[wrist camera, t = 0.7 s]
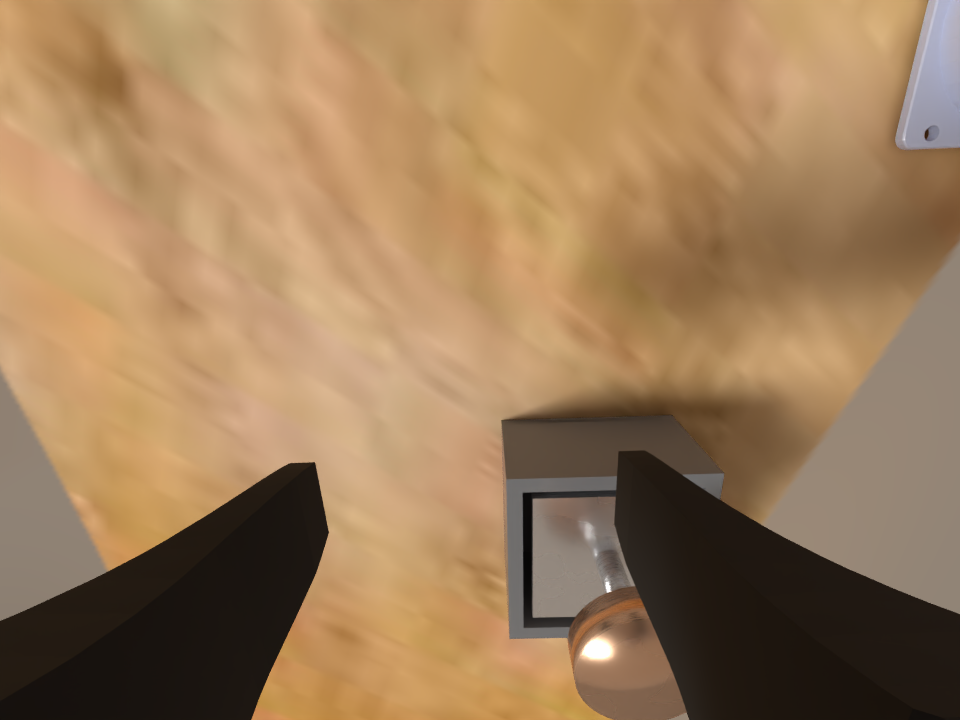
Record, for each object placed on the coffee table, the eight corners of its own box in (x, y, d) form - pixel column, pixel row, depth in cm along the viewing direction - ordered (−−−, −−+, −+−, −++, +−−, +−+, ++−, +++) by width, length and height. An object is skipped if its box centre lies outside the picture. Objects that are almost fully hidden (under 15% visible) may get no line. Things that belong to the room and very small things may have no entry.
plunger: (685, 485, 17) (764, 595, 12) (669, 602, 19) (732, 738, 14) (531, 489, 17) (550, 600, 13) (531, 605, 19) (546, 740, 14)
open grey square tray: (670, 413, 21) (724, 473, 16) (654, 549, 24) (697, 635, 19) (501, 418, 21) (506, 479, 16) (504, 552, 24) (509, 638, 19)
